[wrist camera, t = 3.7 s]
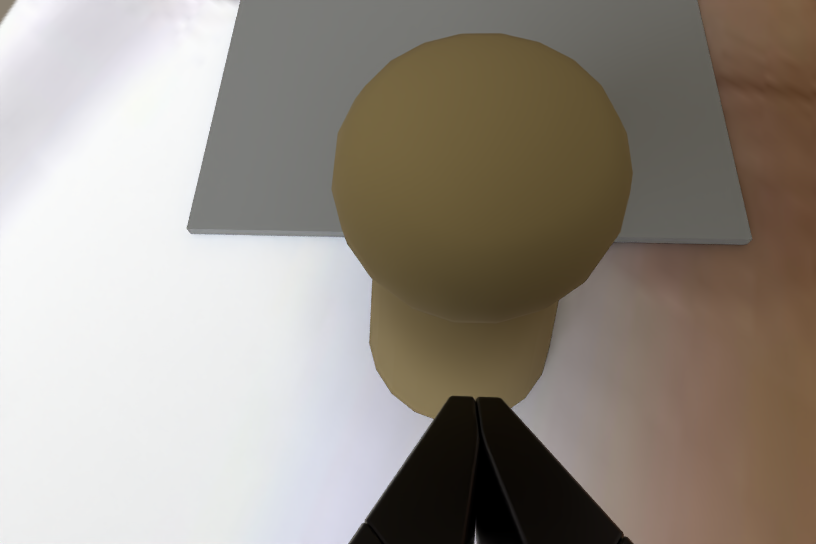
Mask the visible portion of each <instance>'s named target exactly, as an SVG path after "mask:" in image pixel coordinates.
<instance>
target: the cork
mask: <svg viewBox="0 0 816 544" xmlns="http://www.w3.org/2000/svg"><path fill="white" fill-rule="evenodd" d="M632 176H633V170H632V163H631V156H630V150H629V143H628V136H627V132H626V130H625V128H624V126H623V124H622V122H621V120H620V118H619V116H618V114H617V112H616V110H615V109H614V107H613V105H612V103H611V101H610V100H609V98H608V96H607V94H606V92H605V91H604V89H603V87H602V85H601V84H600V83H599V82H597V81H596V80H595V79H594V78H593V77H592V76H591V75H590V74H589V73H588V72H587V71H586V70H584V69H583V68H582V67H581V66H580V65H579V64H578V63H577V62H576V61H575V60H573V59H571V58H570V57H568V56H566V55H564V54H562V53H560V52H558V51H556V50H554V49H552V48H550V47H548V46H546V45H544V44H542V43H540V42H537V41H532V40H528V39H524V38H519V37H515V36H511V35H506V34H502V33H469V34H457V35H453V36H449V37H445V38H441V39H437V40H433V41H429V42H425V43H423V44H421V45H419V46H417V47H415V48H413V49H411V50H410V51H408V52H406V53H404V54H402V55H400V56H398V57H397V58H395V59H393V60H391V61H390V62H389V63H388V64H387V65H386V66H385V67H384V68H383V69H382V70H381V71H380V72H379V73H378V74H377V75H376V76H375V77H374V78H373V79H372V80H371V81H370V82H369V83H368V84H366V85H365V87H364V88H363V89H362V91H361V92H360V93H359V95H358V96H357V97H356V98H355V100H354V102H353V104H352V106H351V108H350V110H349V112H348V114H347V116H346V118H345V120H344V122H343V124H342V126H341V128H340V129H339V131H338V135H337V144H336V152H335V161H334V170H333V179H332V188H331V190H332V194H333V198H334V201H335V205H336V209H337V213H338V217H339V221H340V224H341V228H342V231H343V234H344V236H345V239H346V242H347V244H348V245H349V247H350V248H351V250H352V251H353V253H354V254H355V255H356V257H357V258H358V260H359V261H360V263H361V264H362V266H363V267H364V268H365V270H366V271H367V273H368V274H369V276H370V277H371V278H372V298H371V319H370V340H369V343H370V347H371V351H372V355H373V359H374V363H375V367H376V370H377V371H378V373H379V375H380V376H381V378H382V379H383V381H384V382H385V384H386V385H387V387H388V388H389V390H390V391H391V393H392V394H393V395H394V396H396V397H397V398H398V399H399V400H401V401H402V402H403V403H404V404H406V405H407V406H408V407H409V408H411V409H412V410H413V411H414V412H417V413H419V414H422V415H425V416H427V417H430V418H433V419H434V418H435V417H436V416H437V414H438V413H439V411H440V410H441V408H442V407H443V405H444V404H445V402H446V401H447V400H448V398H449V397H450V396H471V397H473V398H474V399H475V401H476V398H478V397H499V398H501V399H503V401H504V402H505V403H506V404H507V405H508V406H509V407H510V408H512V407H513V406H515V405H516V404H517V403H519V402H520V401H522V400H523V399H524V398H526V396H527V395H528V393H529V392H530V390H531V389H532V388H533V386H534V385H535V383H536V382H537V380H538V379H539V378H540V376H541V375H542V371H543V368H544V364H545V361H546V357H547V353H548V350H549V346H550V341H551V336H552V331H553V326H554V321H555V316H556V311H557V306H558V301H559V299H561V298H562V297H564V296H565V295H567V294H568V293H570V292H571V291H573V290H574V289H575V288H577V287H578V286H580V285H581V284H583V283H584V282H585V281H586V280H587V278H588V277H589V276H590V274H591V273H592V271H593V270H594V269H595V267H596V266H597V264H598V263H599V262H600V260H601V259H602V257H603V256H604V255H605V253H606V252H607V250H608V249H609V248H610V246H611V245H612V243H613V242H614V241H615V239H616V238H617V236H618V235H619V234H620V232H621V228H622V224H623V220H624V216H625V211H626V207H627V203H628V199H629V195H630V190H631V183H632Z"/></svg>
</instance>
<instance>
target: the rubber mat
mask: <svg viewBox="0 0 816 544" xmlns="http://www.w3.org/2000/svg"><path fill="white" fill-rule="evenodd" d="M469 33H502V34H506V35H511V36H515V37H519V38H524V39H528V40H532V41H537V42H540V43H542V44H544V45H546V46H548V47H550V48H552V49H554V50H556V51H558V52H560V53H562V54H564V55H566V56H568V57H570V58H571V59H573V60H575V61H576V62H577V63H578V64H579V65H580V66H581V67H582V68H583V69H584V70H586V71H587V72H588V73H589V74H590V75H591V76H592V77H593V78H594V79H595V80H596V81H597V82H599V83H600V84H601V85H602V87H603V89H604V91H605V92H606V94H607V96H608V98H609V100H610V101H611V103H612V105H613V107H614V109H615V110H616V112H617V114H618V116H619V118H620V120H621V122H622V124H623V126H624V128H625V130H626V132H627V136H628V143H629V150H630V156H631V163H632V170H633V176H632V183H631V190H630V195H629V199H628V203H627V207H626V211H625V216H624V220H623V224H622V228H621V232H620V234H619V235H618V236H617V238H616V239H615V241H614V242H635V243H686V244H737V245H746V244H748V243H749V242H750V241H751V240H752V236H751V232H750V227H749V223H748V219H747V214H746V210H745V206H744V201H743V197H742V193H741V188H740V184H739V180H738V175H737V171H736V166H735V162H734V158H733V153H732V149H731V145H730V140H729V136H728V132H727V127H726V123H725V119H724V114H723V110H722V106H721V101H720V97H719V93H718V88H717V84H716V80H715V75H714V71H713V67H712V62H711V58H710V54H709V49H708V45H707V40H706V36H705V32H704V27H703V23H702V19H701V14H700V10H699V6H698V1H697V0H240V4H239V9H238V13H237V17H236V21H235V26H234V30H233V34H232V38H231V43H230V47H229V51H228V55H227V60H226V64H225V68H224V72H223V77H222V81H221V85H220V89H219V94H218V98H217V102H216V106H215V110H214V115H213V119H212V123H211V127H210V132H209V136H208V140H207V144H206V149H205V153H204V157H203V161H202V166H201V170H200V174H199V178H198V183H197V187H196V191H195V195H194V200H193V204H192V208H191V212H190V217H189V221H188V225H187V230H188V231H189V232H190V233H191V234H226V235H277V236H328V237H345V236H344V234H343V231H342V228H341V224H340V221H339V217H338V213H337V209H336V205H335V201H334V198H333V194H332V190H331V188H332V179H333V170H334V161H335V152H336V144H337V135H338V131H339V129H340V128H341V126H342V124H343V122H344V120H345V118H346V116H347V114H348V112H349V110H350V108H351V106H352V104H353V102H354V100H355V98H356V97H357V96H358V95H359V93H360V92H361V91H362V89H363V88H364V87H365V85H366V84H368V83H369V82H370V81H371V80H372V79H373V78H374V77H375V76H376V75H377V74H378V73H379V72H380V71H381V70H382V69H383V68H384V67H385V66H386V65H387V64H388V63H389V62H390V61H391V60H393V59H395V58H397V57H398V56H400V55H402V54H404V53H406V52H408V51H410V50H411V49H413V48H415V47H417V46H419V45H421V44H423V43H425V42H429V41H433V40H437V39H441V38H445V37H449V36H453V35H457V34H469Z"/></svg>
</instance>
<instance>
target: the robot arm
mask: <svg viewBox="0 0 816 544" xmlns="http://www.w3.org/2000/svg"><path fill="white" fill-rule="evenodd" d="M475 529H476V541H477V544H633V543H632V541H631V540H630V539H629V538H628V537H626V536H624V534H623V532H622V531H621V530H620V529H619V527H618V526H617V525H616V524H615V523H614V522H613V521H612V520H611V519H610V517H609V516H608V515H607V514H606V513H605V512H604V511H603V510H602V509H601V508H600V506H599V505H598V504H597V503H596V502H595V501H594V500H593V499H592V498H591V497H590V495H589V494H588V493H587V492H586V491H585V490H584V489H583V488H582V487H581V485H580V484H579V483H578V482H577V481H576V480H575V479H574V478H573V477H572V476H571V474H570V473H569V472H568V471H567V470H566V469H565V468H564V467H563V466H562V465H561V463H560V462H559V461H558V460H557V459H556V458H555V457H554V456H553V455H552V453H551V452H550V451H549V450H548V449H547V448H546V447H545V446H544V445H543V444H542V442H541V441H540V440H539V439H538V438H537V437H536V436H535V435H534V434H533V433H532V431H531V430H530V429H529V428H528V427H527V426H526V425H525V424H524V423H523V421H522V420H521V419H520V418H519V417H518V416H517V415H516V414H515V413H514V412H513V410H512V409H511V408H510V407H509V406H508V405H507V404H506V403H505V402H504V401H503V399H501V398H499V397H478V398H476V401H475V399H474V398H473V397H471V396H450V397H449V398H448V400H447V401H446V402H445V404H444V405H443V407H442V408H441V410H440V411H439V413H438V414H437V416H436V417H435V418H434V420H433V421H432V423H431V424H430V426H429V427H428V429H427V430H426V432H425V433H424V435H423V436H422V437H421V439H420V440H419V442H418V443H417V445H416V446H415V448H414V449H413V451H412V452H411V453H410V455H409V456H408V458H407V459H406V461H405V462H404V464H403V465H402V467H401V468H400V469H399V471H398V472H397V474H396V475H395V477H394V478H393V480H392V481H391V483H390V484H389V485H388V487H387V488H386V490H385V491H384V493H383V494H382V496H381V497H380V499H379V500H378V502H377V503H376V504H375V506H374V507H373V509H372V510H371V512H370V513H369V515H368V516H367V518H366V519H365V523H362V524H361V526H360V527H359V529H358V530H357V532H356V533H355V535H354V536H353V538H352V539H351V540H350V542H349V543H348V544H474V540H475Z"/></svg>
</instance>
